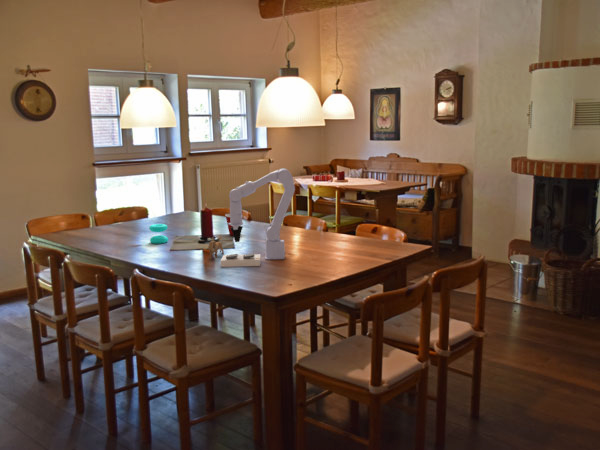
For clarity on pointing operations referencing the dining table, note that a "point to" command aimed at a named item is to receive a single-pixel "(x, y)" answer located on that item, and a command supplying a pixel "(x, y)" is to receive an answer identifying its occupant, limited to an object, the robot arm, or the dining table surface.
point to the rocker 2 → (249, 256)
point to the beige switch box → (241, 261)
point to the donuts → (159, 238)
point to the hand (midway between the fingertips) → (237, 241)
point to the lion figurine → (215, 248)
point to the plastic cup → (229, 222)
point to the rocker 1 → (231, 256)
